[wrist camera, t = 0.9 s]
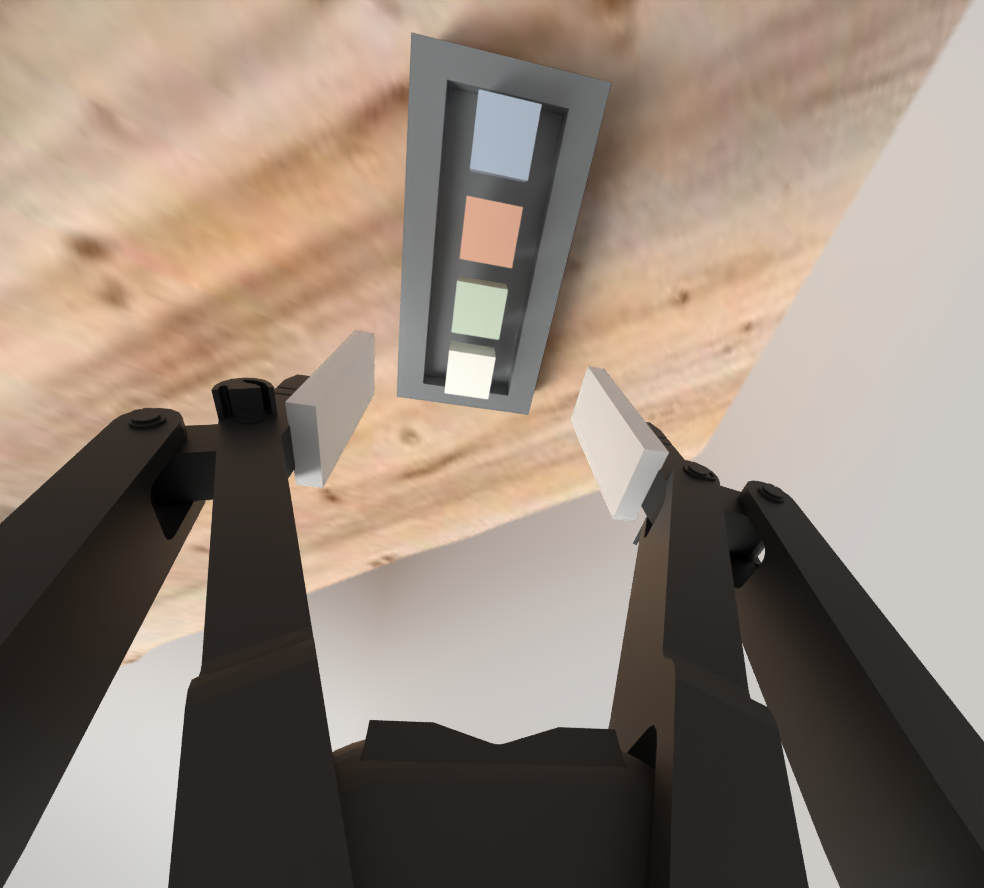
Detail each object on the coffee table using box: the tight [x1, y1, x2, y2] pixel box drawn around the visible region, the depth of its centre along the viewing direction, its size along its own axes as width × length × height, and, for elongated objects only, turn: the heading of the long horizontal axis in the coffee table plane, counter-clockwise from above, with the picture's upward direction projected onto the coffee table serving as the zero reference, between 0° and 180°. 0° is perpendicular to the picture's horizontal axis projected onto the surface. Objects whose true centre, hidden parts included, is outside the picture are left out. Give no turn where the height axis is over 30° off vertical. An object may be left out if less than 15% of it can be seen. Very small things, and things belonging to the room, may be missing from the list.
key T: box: [460, 196, 523, 268], centre depth 26 cm, size 4×4×2 cm
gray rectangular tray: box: [397, 32, 611, 415], centre depth 30 cm, size 12×23×4 cm, turn 170°
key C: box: [451, 276, 508, 340], centre depth 28 cm, size 4×4×2 cm
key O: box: [444, 341, 496, 399], centre depth 31 cm, size 4×4×2 cm
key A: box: [470, 89, 542, 183], centre depth 23 cm, size 4×4×2 cm
